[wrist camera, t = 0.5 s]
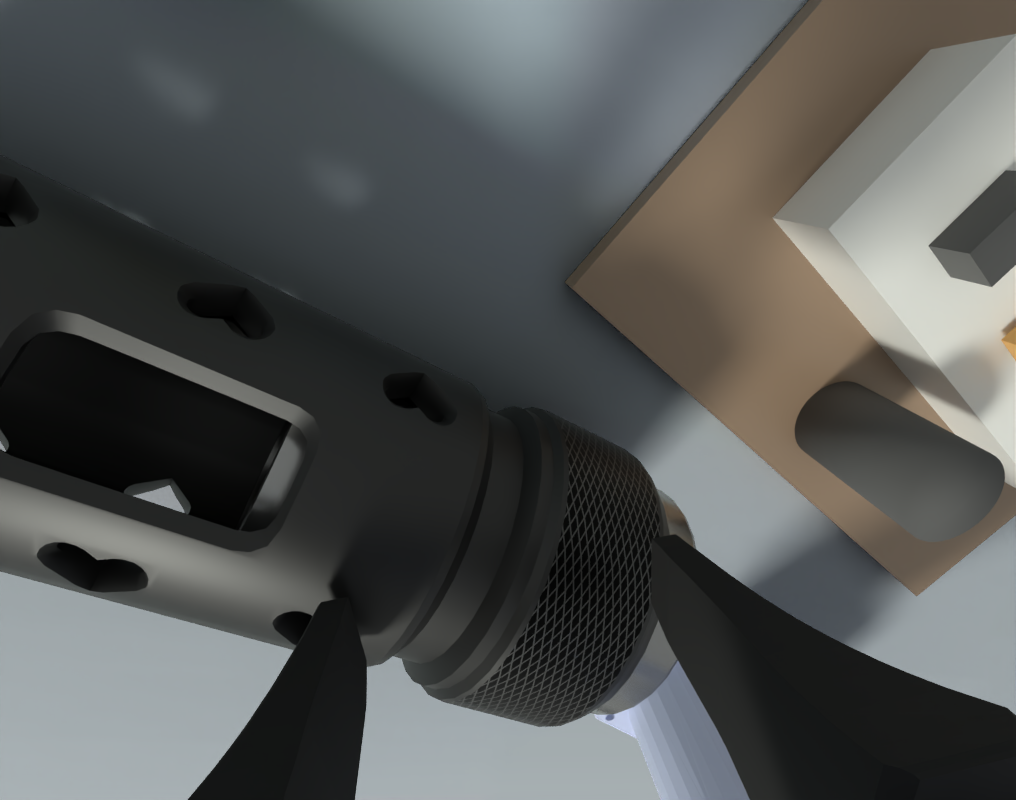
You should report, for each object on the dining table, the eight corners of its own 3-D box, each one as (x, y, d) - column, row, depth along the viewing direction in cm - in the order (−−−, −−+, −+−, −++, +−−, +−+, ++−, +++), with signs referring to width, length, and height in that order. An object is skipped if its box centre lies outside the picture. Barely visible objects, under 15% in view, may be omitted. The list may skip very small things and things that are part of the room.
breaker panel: (1240, 301, 27) (1431, 336, 22) (901, 583, 31) (996, 666, 26) (1017, -241, 17) (1270, -401, 12) (564, 282, 21) (612, 324, 16)
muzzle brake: (-167, 100, 17) (-748, -299, 7) (584, 456, 26) (760, 486, 17) (-369, 391, 15) (-1439, 372, 6) (507, 657, 25) (651, 815, 15)
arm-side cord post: (887, 412, 25) (1021, 486, 19) (823, 470, 25) (936, 558, 20) (844, 364, 23) (976, 430, 18) (778, 428, 24) (885, 509, 19)
